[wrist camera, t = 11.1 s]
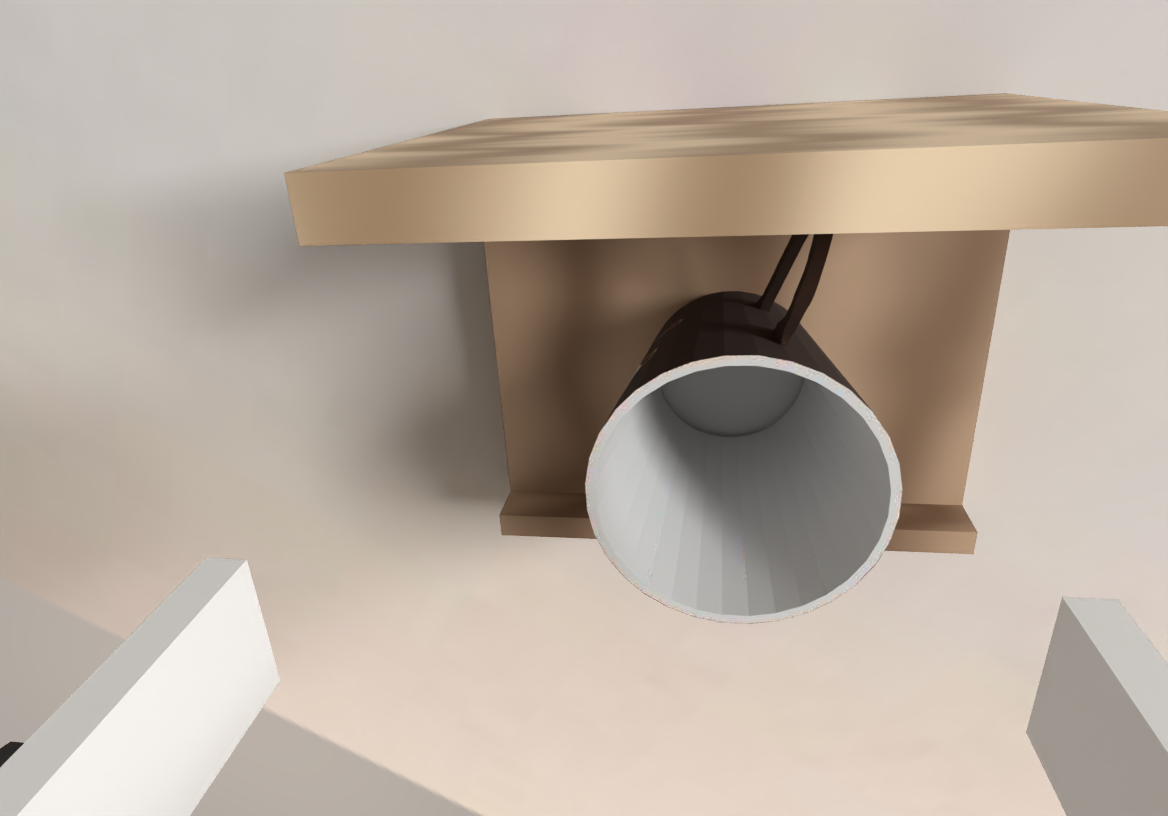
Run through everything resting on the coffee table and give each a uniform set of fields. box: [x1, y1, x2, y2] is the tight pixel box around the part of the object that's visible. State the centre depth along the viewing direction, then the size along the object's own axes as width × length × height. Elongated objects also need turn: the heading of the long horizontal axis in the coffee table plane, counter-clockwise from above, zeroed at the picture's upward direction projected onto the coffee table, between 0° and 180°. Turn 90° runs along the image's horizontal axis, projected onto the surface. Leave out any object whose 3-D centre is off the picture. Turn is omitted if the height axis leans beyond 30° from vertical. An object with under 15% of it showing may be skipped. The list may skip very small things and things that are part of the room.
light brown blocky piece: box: [284, 93, 1168, 554], centre depth 25 cm, size 19×16×16 cm
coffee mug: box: [585, 234, 903, 624], centre depth 25 cm, size 12×9×10 cm
